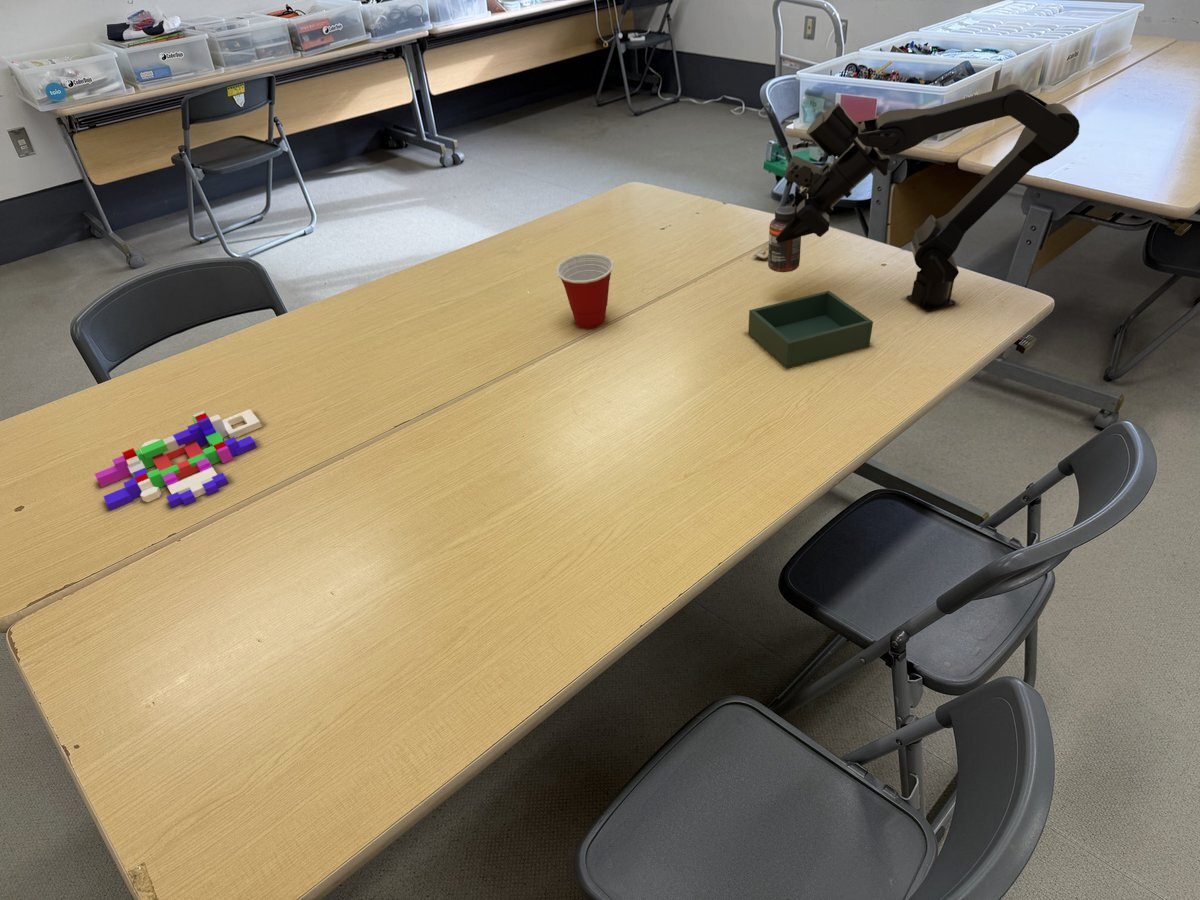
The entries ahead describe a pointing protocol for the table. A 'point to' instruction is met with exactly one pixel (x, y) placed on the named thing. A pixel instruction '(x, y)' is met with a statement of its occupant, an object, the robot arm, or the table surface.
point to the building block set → (170, 474)
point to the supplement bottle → (783, 243)
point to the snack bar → (763, 252)
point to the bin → (809, 329)
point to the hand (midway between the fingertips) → (777, 234)
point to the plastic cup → (587, 287)
